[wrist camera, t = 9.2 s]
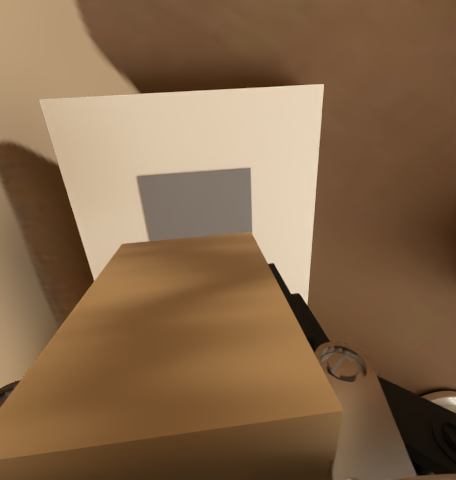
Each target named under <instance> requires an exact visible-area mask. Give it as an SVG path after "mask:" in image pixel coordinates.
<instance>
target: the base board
mask: <svg viewBox="0 0 456 480" xmlns="http://www.w3.org/2000/svg"><path fill="white" fill-rule="evenodd" d="M323 89H324V84H317V85H298V86H279V87H260V88H241V89H222V90H203V91H184V92H165V93H146V94H130V95H129V94H128V95H110V96H90V97H70V98H53V99H52V98H51V99H39V102H40V106H41V109H42V112H43V116H44V119H45V122H46V125H47V129H48V132H49V135H50V138H51V142H52V145H53V148H54V151H55V155H56V158H57V161H58V165H59V168H60V171H61V174H62V178H63V181H64V184H65V187H66V191H67V194H68V197H69V200H70V204H71V207H72V210H73V213H74V217H75V220H76V223H77V226H78V230H79V233H80V236H81V239H82V243H83V246H84V249H85V252H86V256H87V259H88V262H89V266H90V269H91V272H92V275H93V279H94V281H95V280H96V278H97V277H98V276H99V274H100V273H101V272H102V270H103V269H104V267H105V266H106V265H107V263H108V262H109V261H110V259H111V258H112V257H113V255H114V254H115V253H116V251H117V250H118V249H119V247H120V246H121V245H122V244H125V243H136V242H147V241H158V240H169V239H180V238H191V237H202V236H213V235H224V234H235V233H246V232H252V234H253V236H254V238H255V240H256V242H257V244H258V246H259V248H260V250H261V252H262V254H263V256H264V258H265V259H266V261H267V263H268V264H270V263H274V264H275V266H276V268H277V270H278V272H279V273H280V275H281V277H282V279H283V280H284V282H285V284H286V286H287V287H288V289H289V291H290V293H291V294H295V293H299V294H300V295H301V296H302V298H303V299H304V301H305V303H306V304H307V302H308V289H309V275H310V262H311V249H312V235H313V222H314V209H315V195H316V182H317V169H318V155H319V142H320V129H321V116H322V102H323Z"/></svg>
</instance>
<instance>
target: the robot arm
mask: <svg viewBox="0 0 456 480" xmlns="http://www.w3.org/2000/svg"><path fill="white" fill-rule="evenodd" d="M268 265H269V267H270V269H271V271H272V273H273V275H274V277H275V279H276V281H277V283H278V285H279V286H280V288H281V290H282V292H283V294H284V296H285V298H286V300H287V302H288V304H289V306H290V308H291V310H292V312H293V313H294V315H295V317H296V319H297V321H298V323H299V325H300V327H301V329H302V331H303V333H304V335H305V337H306V339H307V340H308V342H309V344H310V346H311V348H312V350H313V352H314V354H315V356H316V358H317V360H318V362H319V364H320V365H321V367H322V369H323V371H324V373H325V375H326V377H327V379H328V381H329V383H330V385H331V387H332V389H333V391H334V392H335V394H336V396H337V398H338V400H339V402H340V404H341V406H342V408H343V410H344V413H343V418H342V423H341V429H340V434H339V440H338V445H337V451H336V456H335V460H330V464H329V469H328V475H327V480H456V392H455V391H439V392H433V393H430V394H426V395H424V396H418V395H416V394H414V393H412V392H410V391H408V390H406V389H404V388H402V387H399V386H397V385H395V384H393V383H391V382H389V381H387V380H385V379H382V378H380V377H378V376H377V375H376V373H375V370H374V368H373V365H372V364H371V362H370V360H369V359H368V357H366V356H365V355H364V354H363V353H362V352H361V351H360V350H358V349H357V348H355V347H353V346H351V345H348V344H346V343H341V342H330V341H329V339H328V338H327V336H326V335H325V333H324V331H323V330H322V328H321V327H320V325H319V323H318V322H317V320H316V319H315V317H314V315H313V314H312V312H311V311H310V309H309V307H308V306H307V304H306V303H305V301H304V299H303V298H302V296H301V295H300V294H299V293H295V294H291V293H290V291H289V289H288V287H287V286H286V284H285V282H284V280H283V279H282V277H281V275H280V273H279V272H278V270H277V268H276V266H275V264H274V263H270V264H268ZM20 381H21V380H20ZM20 381H15V382H13V383H10V384H8V385H6V386H4V387H2V388H0V407H1V406H2V405H3V403H4V402H5V401H6V399H7V398H8V397H9V395H10V394H11V393H12V391H13V390H14V389H15V387H16V386H17V385H18V383H19V382H20Z"/></svg>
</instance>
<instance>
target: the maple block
mask: <svg viewBox="0 0 456 480" xmlns="http://www.w3.org/2000/svg"><path fill="white" fill-rule="evenodd" d="M343 413H344V410H343V408H342V406H341V404H340V402H339V400H338V398H337V396H336V394H335V392H334V391H333V389H332V387H331V385H330V383H329V381H328V379H327V377H326V375H325V373H324V371H323V369H322V367H321V365H320V364H319V362H318V360H317V358H316V356H315V354H314V352H313V350H312V348H311V346H310V344H309V342H308V340H307V339H306V337H305V335H304V333H303V331H302V329H301V327H300V325H299V323H298V321H297V319H296V317H295V315H294V313H293V312H292V310H291V308H290V306H289V304H288V302H287V300H286V298H285V296H284V294H283V292H282V290H281V288H280V286H279V285H278V283H277V281H276V279H275V277H274V275H273V273H272V271H271V269H270V267H269V265H268V263H267V261H266V259H265V258H264V256H263V254H262V252H261V250H260V248H259V246H258V244H257V242H256V240H255V238H254V236H253V234H252V232H246V233H235V234H224V235H213V236H202V237H191V238H180V239H169V240H158V241H147V242H136V243H125V244H122V245H121V246H120V247H119V249H118V250H117V251H116V253H115V254H114V255H113V257H112V258H111V259H110V261H109V262H108V263H107V265H106V266H105V267H104V269H103V270H102V272H101V273H100V274H99V276H98V277H97V278H96V280H95V281H94V282H93V284H92V285H91V286H90V288H89V289H88V290H87V292H86V293H85V294H84V296H83V297H82V298H81V300H80V301H79V302H78V304H77V305H76V307H75V308H74V309H73V311H72V312H71V313H70V315H69V316H68V317H67V319H66V320H65V321H64V323H63V324H62V325H61V327H60V328H59V329H58V331H57V332H56V333H55V335H54V336H53V338H52V339H51V340H50V341H49V343H48V344H47V346H46V347H45V348H44V350H43V351H42V352H41V354H40V355H39V356H38V358H37V359H36V360H35V362H34V363H33V364H32V366H31V367H30V369H29V370H28V371H27V373H26V374H25V375H24V377H23V378H22V379H21V381H20V382H19V383H18V385H17V386H16V387H15V389H14V390H13V391H12V393H11V394H10V395H9V397H8V398H7V399H6V401H5V402H4V403H3V405H2V406H1V407H0V480H327V475H328V469H329V464H330V460H335V456H336V451H337V445H338V440H339V434H340V429H341V423H342V418H343Z"/></svg>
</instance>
